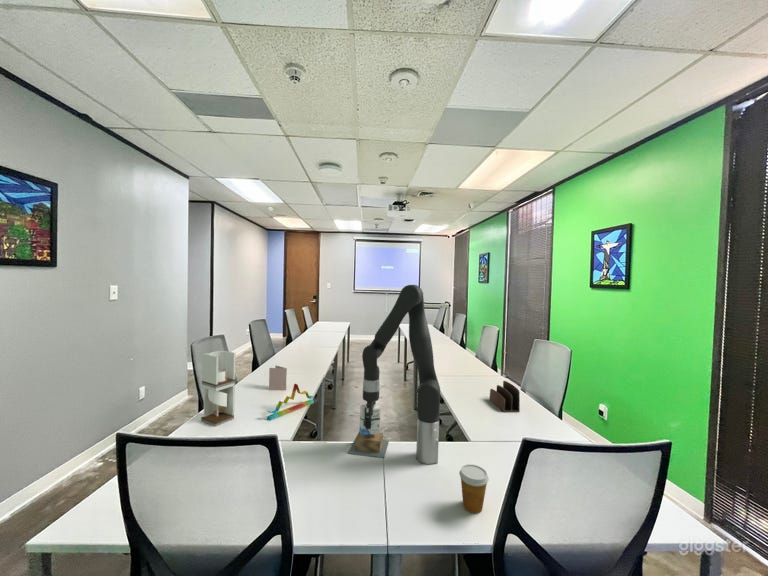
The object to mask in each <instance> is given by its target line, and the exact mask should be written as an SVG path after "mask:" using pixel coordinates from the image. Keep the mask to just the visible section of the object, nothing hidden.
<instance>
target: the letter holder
mask: <svg viewBox="0 0 768 576" xmlns="http://www.w3.org/2000/svg"><path fill="white" fill-rule="evenodd" d="M520 400H521V398H520V390H519V389H518V387H516V386H515V385H513V384H512V383H511V382H509V381H506V380H503V381H502V386H501V385H499V384H497V385H496V390H495V389H493V388H490V390H489V401H490V402H492V403H493V405H495V406H496V407H497V408H498V409H500V410H501V411H502V412H503V413H520V409H521V408H520V407H521V405H520V402H521V401H520Z"/></svg>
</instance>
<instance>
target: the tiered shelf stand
mask: <svg viewBox="0 0 768 576" xmlns="http://www.w3.org/2000/svg"><path fill="white" fill-rule="evenodd" d="M236 355H237V354H236V352H231V351H227V350H216V351H212V352H205V353H202V363H201V364H202V367H201V368H202V369H201V371H202V373H201V388H203V416H201V417H200V421H201V422H202V423H204V424H207V425H210V426H213V427H217V426H220V425H222V424H225V423H227V422H230V421H232V420H235V399H236V398H235V395H236V393H235V392H236Z"/></svg>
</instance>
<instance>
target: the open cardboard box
mask: <svg viewBox="0 0 768 576" xmlns="http://www.w3.org/2000/svg"><path fill="white" fill-rule="evenodd" d="M355 438H356V440H355V439H354V440H355V450H361V451H369V452H377V453H380V450H381V447H382V444H383V440H384V439H383V438H384V433H383V432H380V434H371V435H361V433H360V430H359V431H358V433H357V435H356V437H355Z"/></svg>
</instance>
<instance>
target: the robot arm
mask: <svg viewBox="0 0 768 576" xmlns="http://www.w3.org/2000/svg"><path fill="white" fill-rule="evenodd" d="M407 314H408V323H409V324H408V339H409V345H410V346H409V347H410V350H411V354H412V355H411V356H412V358H413V360H414V363H415V364H416V367H417V371H418V372H417V373H418V383H419V386H418V390H417V406H416V408H417V409H416V411H417V413H416V414H417V418H416V419H417V425H416V427H417V428H416V446H415V447H416V450H415V457H416V460H417V461H418V462H420V463H421V464H427V465H433V464H438V463H439V445H440V444H439V441H440V440H439V439H440V438H439V434H440V433H439V431H440V407H441V405H440V403H441V387H440V386H441V385H440V384H439V380H438V377H437V374H436V369H435V362H434V352H433V351H434V350H433V343H432V337H431V333H430V330H429V326H428V321H427V318H426V311H425V299H424V292H423V290H422V288H421V287H420V286H418V285H416V284H407V285H405V286H404V287H403V288H401V290H400V292H399V295H398V296H397V299H396V301H395V303H394V305H393V307H392V309H391V311H390V312H389V314H388V315H387V316H386V317H385V319H384V321H383V322H382V324H381V325H380V326H379V328H378V329H377V331H376V333H375V334H374V339H373V340H372V342H371V343H370V344H369V345H367V346H365V347H364V348H363V350H362V355H361V357H362V358H361V359H362V364H363V381H362V400H364V401H366V403H365V405H366V406H365V419H364V420H365V421H366V429H371V420H372V419H371V418H372V415H373V409H374V407H375V405H376V404H377V401H378V400H380V389H381V388H380V387H381V385H380V383H381V381H380V372H381V371H380V367H379V366H378V359H380V357H381V356H382V354H383V353H384V352H385V350H386V348H387V346H388V344H389V343H390V341H391V340H392V338H393V337H394V335H396V332H397V331H398V329H399V327H400V325H401V323H402V322H403V320H404V318H405V317H406V315H407ZM371 411H372V413H371ZM367 416H369V418H367Z"/></svg>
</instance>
